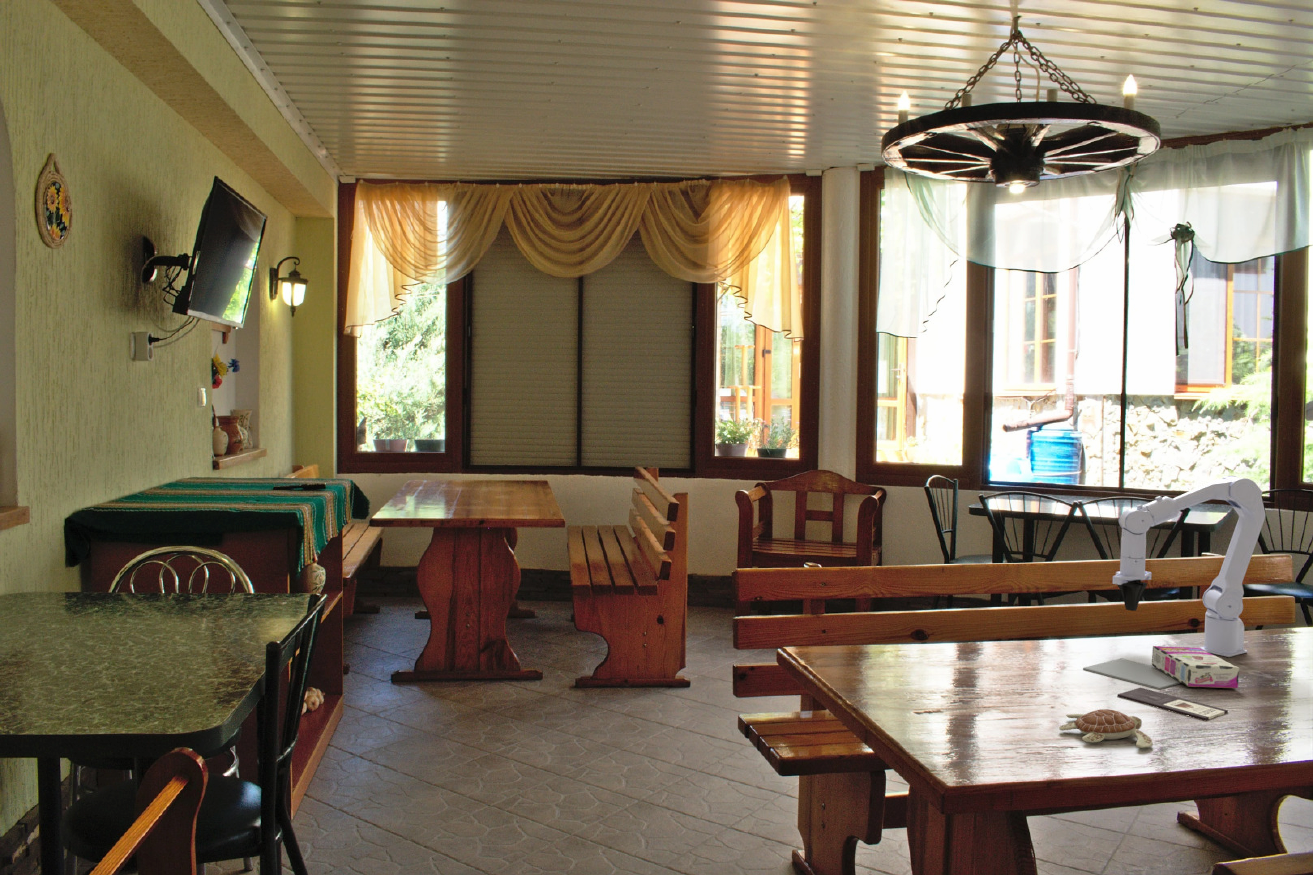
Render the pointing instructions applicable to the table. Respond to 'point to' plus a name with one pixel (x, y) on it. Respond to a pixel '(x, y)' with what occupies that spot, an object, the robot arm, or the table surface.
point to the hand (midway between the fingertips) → (1130, 609)
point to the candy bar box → (1195, 667)
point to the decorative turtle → (1108, 726)
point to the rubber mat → (1134, 673)
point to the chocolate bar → (1173, 703)
